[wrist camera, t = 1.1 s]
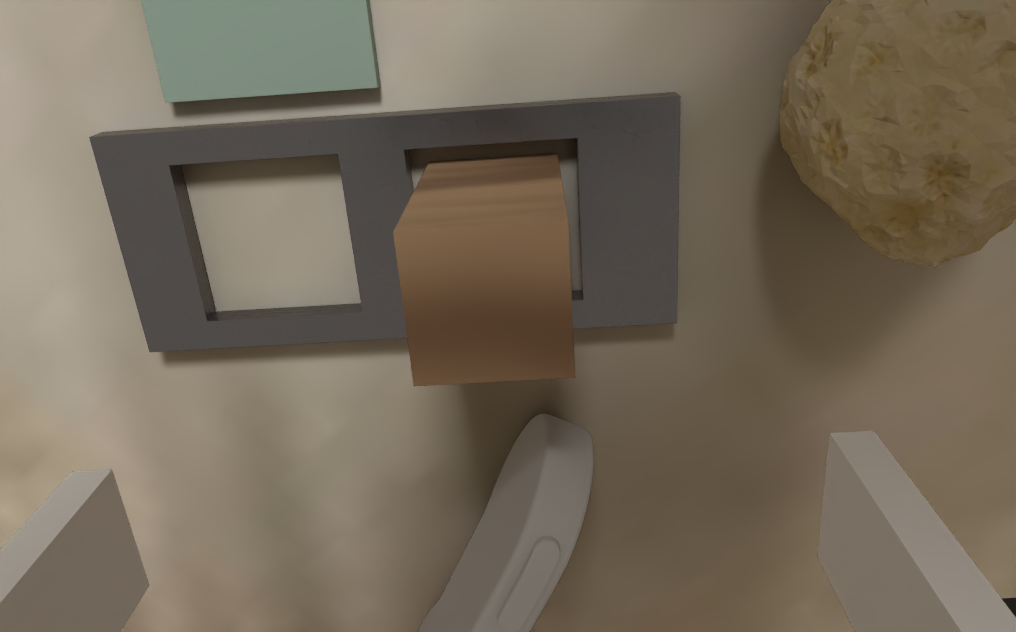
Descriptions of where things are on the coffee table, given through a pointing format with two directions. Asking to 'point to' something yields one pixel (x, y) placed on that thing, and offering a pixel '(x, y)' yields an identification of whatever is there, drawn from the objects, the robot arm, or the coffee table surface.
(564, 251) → the walnut block
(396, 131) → the grey slotted board
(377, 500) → the coffee table surface
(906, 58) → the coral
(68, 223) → the coffee table surface
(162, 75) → the felt pad
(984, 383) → the coffee table surface
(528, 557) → the game controller
